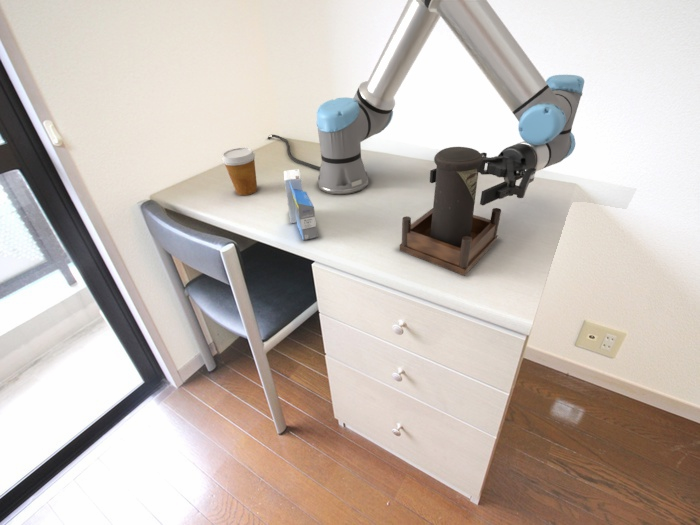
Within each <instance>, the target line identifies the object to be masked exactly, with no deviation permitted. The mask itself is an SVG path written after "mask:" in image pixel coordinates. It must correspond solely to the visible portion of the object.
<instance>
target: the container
mask: <svg viewBox="0 0 700 525" xmlns="http://www.w3.org/2000/svg"><path fill="white" fill-rule="evenodd" d="M480 153H481V152H479V151H478V150H477V149H475V148H472V147H466V146H451V147H450V146H449V147H445V148H443V149H440V150H439V151H438V152H436V154H435V155H434V156H433V162H434V163H435V165H436V168H437V169H436V168H435V169H436V182H434V184H435V185H434V195H433V206H432V208H433V214H432V223H431V231H430V238H433V239H436V240H439V241H442V242H444V243H447V244H450V245H453V246H456V247H459V248H461V242H462V237H464V236H469V237H471V229H472V220H473V215H474V210H475V203H476V195H477V188H478V187H477V186H478V179H479V166H480V165H481V163H482V161H483V156H482V155H481V154H480Z"/></svg>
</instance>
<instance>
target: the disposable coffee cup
mask: <svg viewBox="0 0 700 525" xmlns="http://www.w3.org/2000/svg"><path fill="white" fill-rule="evenodd" d="M221 156H222V158H221V162H222V163H223V164H224V166H225V168H226V170H227V173H228V176H229V177H230V180H231V183H232V186H233V187H234V190H235V192H236V194H237V195H239V196H249V195H252V194H254V193H256V192H257V191H258V183H257V172H256V160H255V158H256V153H255V152H254V150H253V149H252V148H250V147H235V148H232V149H228V150H226V151H224V152H223V153H222V155H221Z"/></svg>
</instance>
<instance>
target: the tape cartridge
mask: <svg viewBox="0 0 700 525" xmlns="http://www.w3.org/2000/svg"><path fill="white" fill-rule="evenodd" d="M289 182H290V180H289ZM290 186H291V191H292V196H293V202H294V208H295V214H296V220H297V223H296V225H297V229H298V231H299V234H300V236H301V239H302V241H307V240H313V239H316V238H318V237H319V236H318V229H317V228H318V227H317V221H316V213H315V212H316V211H315V206H314V205H313V203H312V200H311V198H310V196H309V195H308V192H307V191H304V190H303V191H300V190H295V189H293V187H292V185H291V182H290Z"/></svg>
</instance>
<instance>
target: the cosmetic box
mask: <svg viewBox="0 0 700 525" xmlns="http://www.w3.org/2000/svg"><path fill="white" fill-rule="evenodd" d="M283 180H284V187H285V195H286V202H287V207H288V208H287V209H288V214H289V221H290V223H291V224H293V223H294V224H295V223H296V224H297V220H296V214H295V208H294V202H293V196H292V191H291V186H290V182H291V185H292V187H293V189H295V190H300V191H304V188H303V182H302V180H303V179H302V173H301V169H300V168H297V169H288V170H284V171H283ZM289 180H290V182H289Z"/></svg>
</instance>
